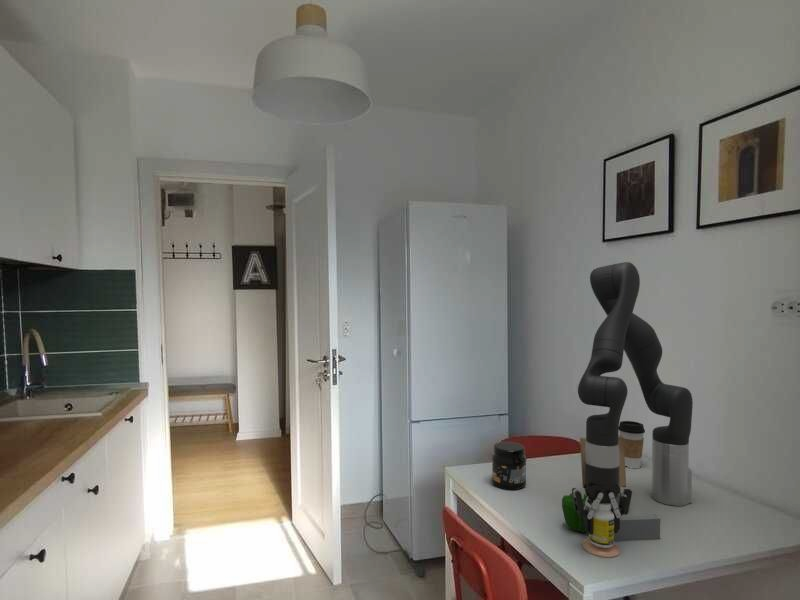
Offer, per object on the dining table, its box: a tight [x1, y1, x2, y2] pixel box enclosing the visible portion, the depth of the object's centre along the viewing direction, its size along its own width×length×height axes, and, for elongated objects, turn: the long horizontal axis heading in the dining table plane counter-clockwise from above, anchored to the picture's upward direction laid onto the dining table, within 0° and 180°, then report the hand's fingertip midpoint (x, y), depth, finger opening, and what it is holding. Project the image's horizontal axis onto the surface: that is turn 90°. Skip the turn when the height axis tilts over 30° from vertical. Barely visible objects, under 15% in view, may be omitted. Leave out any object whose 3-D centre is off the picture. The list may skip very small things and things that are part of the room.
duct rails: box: [614, 493, 661, 542], centre depth 126 cm, size 12×16×5 cm
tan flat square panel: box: [579, 436, 627, 488], centre depth 134 cm, size 12×14×1 cm
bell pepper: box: [561, 492, 593, 533], centre depth 124 cm, size 8×8×10 cm
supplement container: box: [491, 441, 527, 491], centre depth 152 cm, size 10×10×12 cm
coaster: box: [582, 538, 621, 559], centre depth 114 cm, size 8×8×1 cm
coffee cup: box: [618, 420, 646, 469], centre depth 168 cm, size 8×8×15 cm
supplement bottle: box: [588, 503, 615, 548], centre depth 114 cm, size 5×5×10 cm
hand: (601, 531), depth 114 cm, fingers closed on supplement bottle, 5 cm apart
